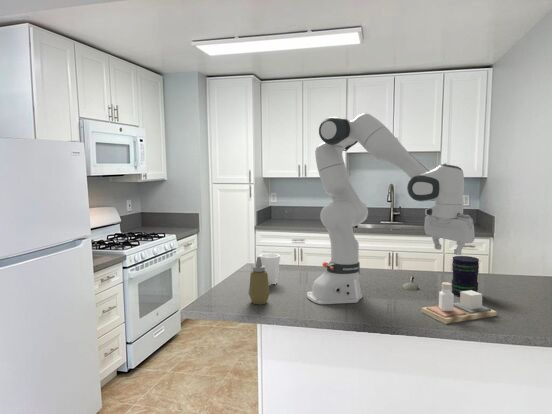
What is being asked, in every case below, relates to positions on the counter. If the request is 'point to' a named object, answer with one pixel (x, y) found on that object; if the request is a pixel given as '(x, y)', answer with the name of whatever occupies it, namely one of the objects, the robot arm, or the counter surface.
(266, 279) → the squeeze bottle
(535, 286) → the counter surface
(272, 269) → the foam cup
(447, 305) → the pepper shaker
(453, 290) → the storage jar
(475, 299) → the cream block
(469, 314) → the oak board
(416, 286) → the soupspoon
